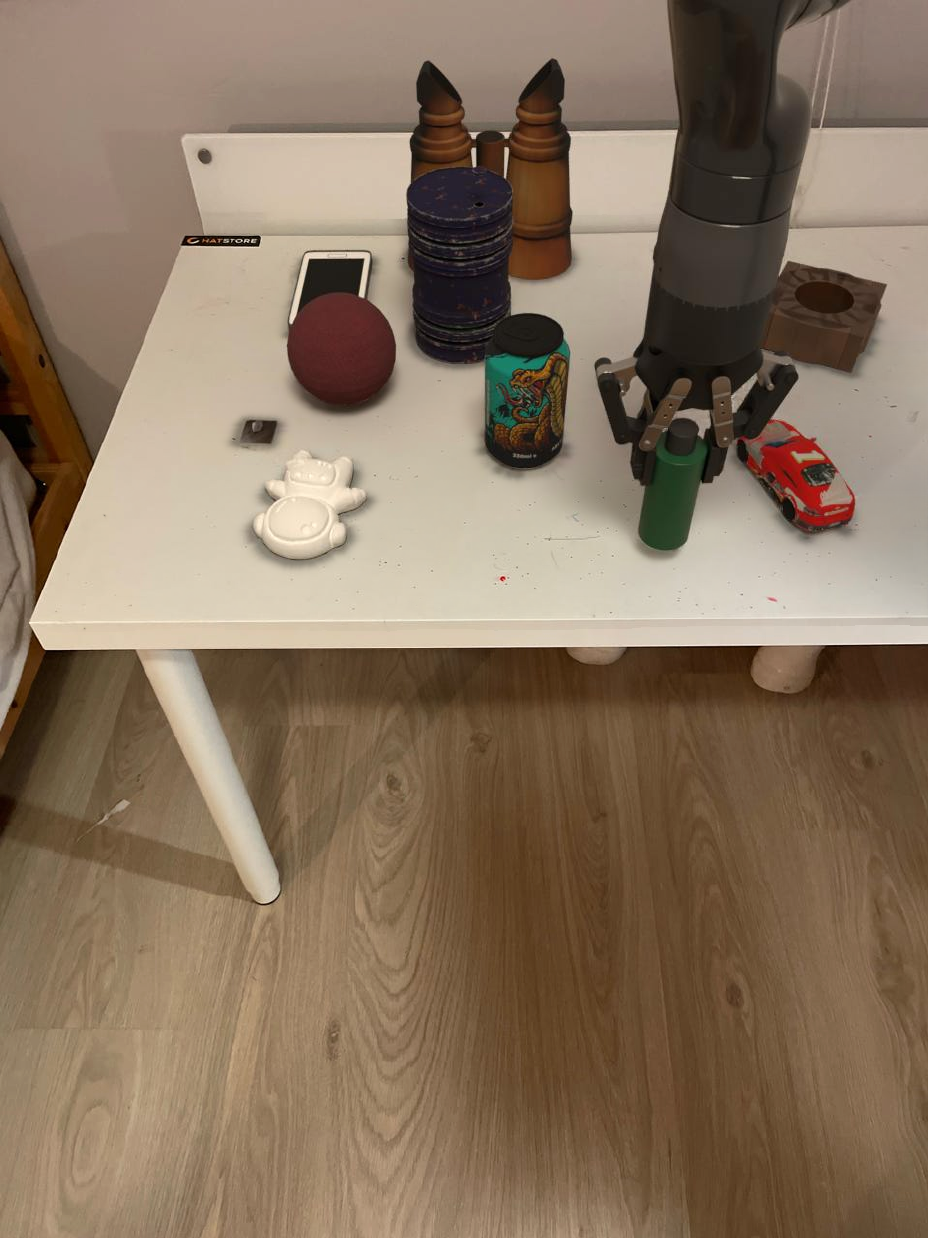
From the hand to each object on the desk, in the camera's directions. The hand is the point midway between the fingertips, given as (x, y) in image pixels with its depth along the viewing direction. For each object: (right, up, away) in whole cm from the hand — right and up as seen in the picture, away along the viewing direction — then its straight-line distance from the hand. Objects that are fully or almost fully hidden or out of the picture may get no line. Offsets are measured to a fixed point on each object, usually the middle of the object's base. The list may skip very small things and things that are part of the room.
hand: (674, 476), depth 70 cm
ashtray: (+20, +18, +24) cm, 36 cm away
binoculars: (-13, +29, +34) cm, 47 cm away
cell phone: (-30, +24, +30) cm, 49 cm away
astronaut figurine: (-29, -1, +10) cm, 31 cm away
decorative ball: (-27, +11, +20) cm, 35 cm away
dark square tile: (-35, +6, +16) cm, 39 cm away
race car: (+12, +1, +11) cm, 16 cm away
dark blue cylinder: (-16, +18, +25) cm, 35 cm away
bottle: (0, -4, +5) cm, 6 cm away
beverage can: (-10, +5, +14) cm, 18 cm away
